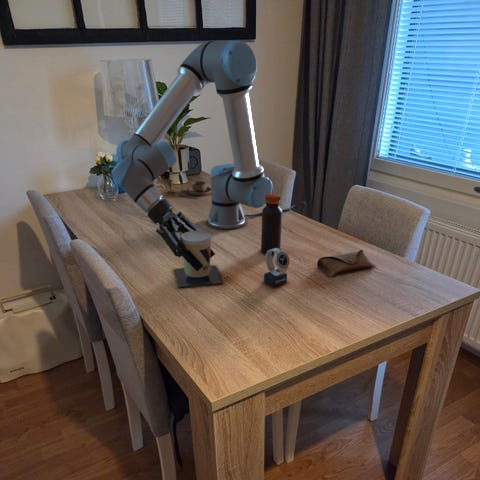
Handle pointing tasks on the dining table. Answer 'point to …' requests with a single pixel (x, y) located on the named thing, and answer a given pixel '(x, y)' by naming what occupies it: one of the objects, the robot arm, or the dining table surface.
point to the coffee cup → (197, 251)
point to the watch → (278, 275)
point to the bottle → (271, 223)
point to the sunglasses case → (344, 263)
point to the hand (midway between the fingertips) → (206, 262)
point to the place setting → (194, 189)
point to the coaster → (197, 278)
